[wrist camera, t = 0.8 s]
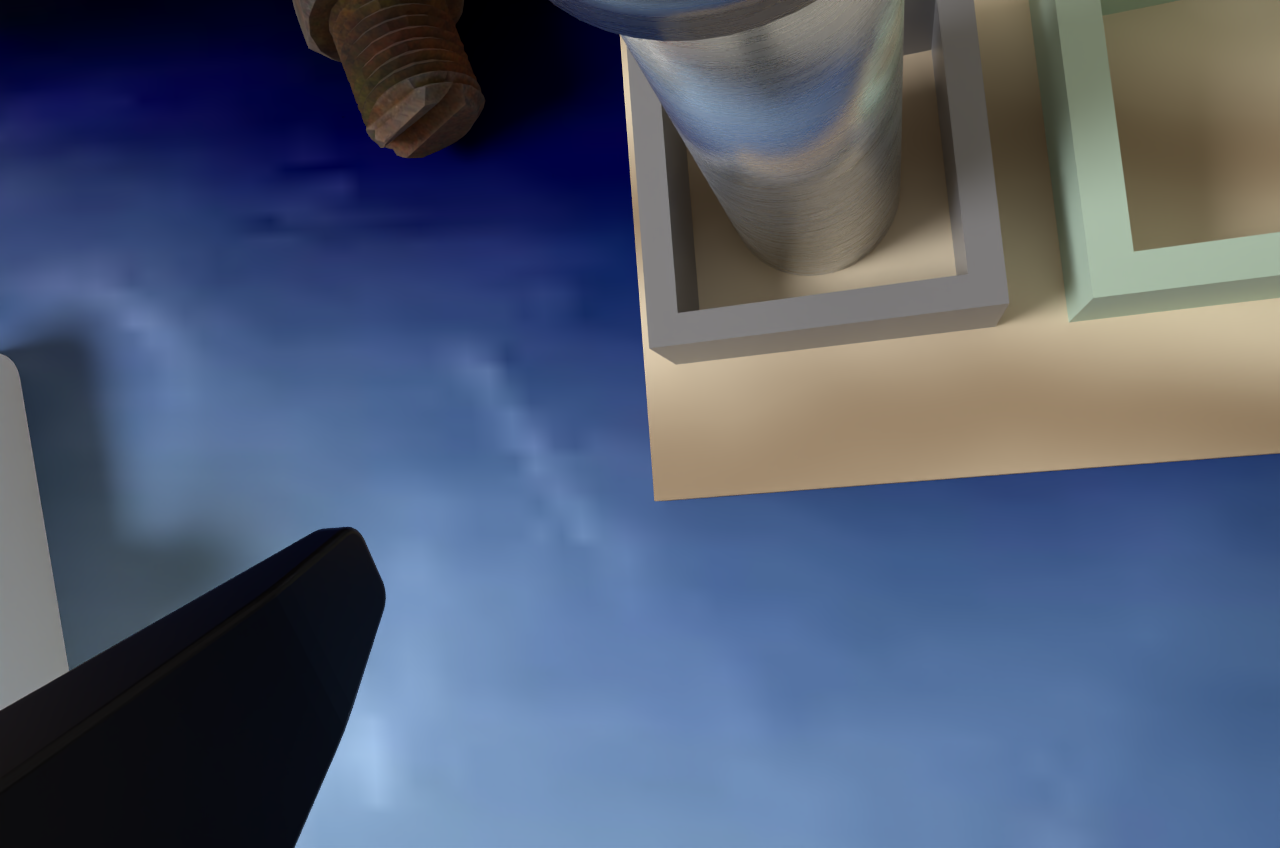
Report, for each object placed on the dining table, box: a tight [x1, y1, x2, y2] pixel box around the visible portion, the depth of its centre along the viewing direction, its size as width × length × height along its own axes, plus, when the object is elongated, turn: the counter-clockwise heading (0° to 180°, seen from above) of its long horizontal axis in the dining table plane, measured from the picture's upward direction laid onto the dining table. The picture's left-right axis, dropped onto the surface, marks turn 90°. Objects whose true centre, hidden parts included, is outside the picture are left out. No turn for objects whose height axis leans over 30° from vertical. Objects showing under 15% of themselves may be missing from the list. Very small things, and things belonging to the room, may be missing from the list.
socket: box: [1029, 0, 1280, 322], centre depth 18 cm, size 8×8×2 cm
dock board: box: [620, 0, 1280, 501], centre depth 21 cm, size 14×18×1 cm
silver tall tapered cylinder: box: [549, 0, 904, 276], centre depth 15 cm, size 5×5×14 cm
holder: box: [627, 0, 1009, 365], centre depth 20 cm, size 7×7×2 cm
